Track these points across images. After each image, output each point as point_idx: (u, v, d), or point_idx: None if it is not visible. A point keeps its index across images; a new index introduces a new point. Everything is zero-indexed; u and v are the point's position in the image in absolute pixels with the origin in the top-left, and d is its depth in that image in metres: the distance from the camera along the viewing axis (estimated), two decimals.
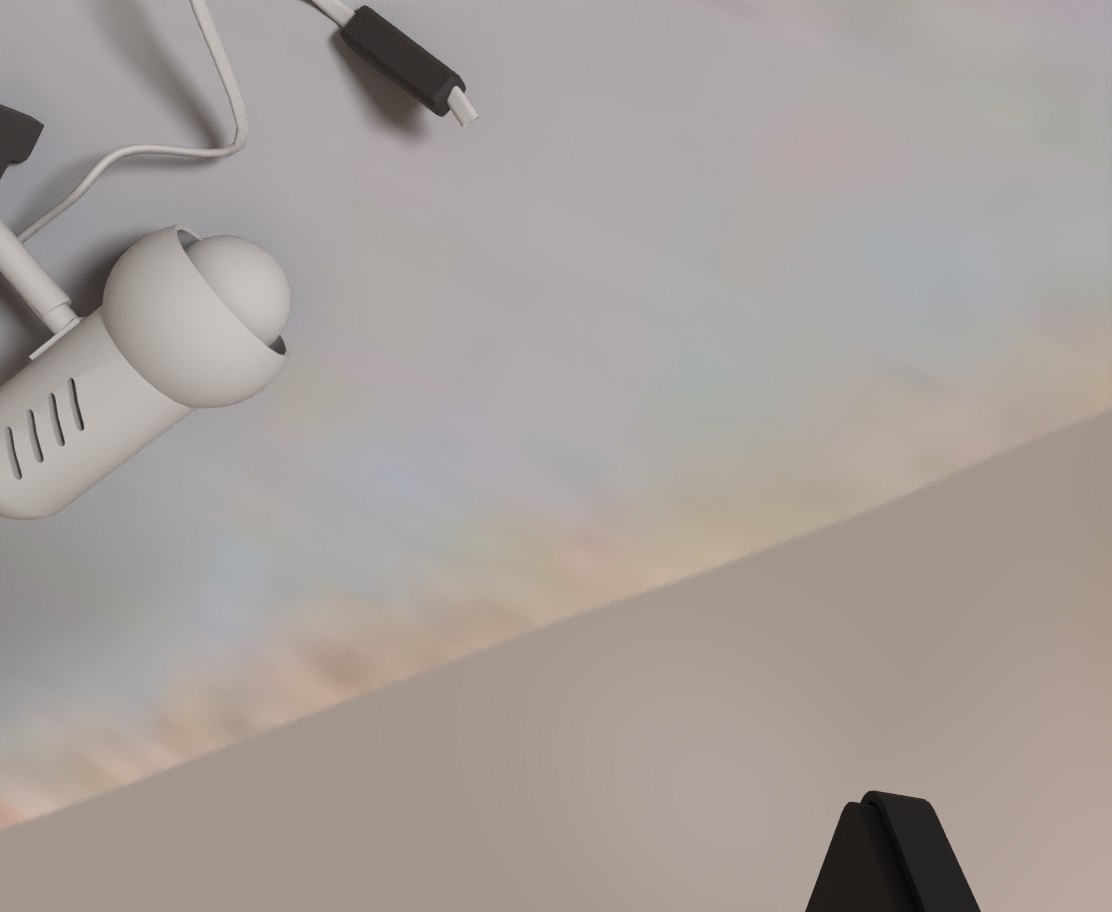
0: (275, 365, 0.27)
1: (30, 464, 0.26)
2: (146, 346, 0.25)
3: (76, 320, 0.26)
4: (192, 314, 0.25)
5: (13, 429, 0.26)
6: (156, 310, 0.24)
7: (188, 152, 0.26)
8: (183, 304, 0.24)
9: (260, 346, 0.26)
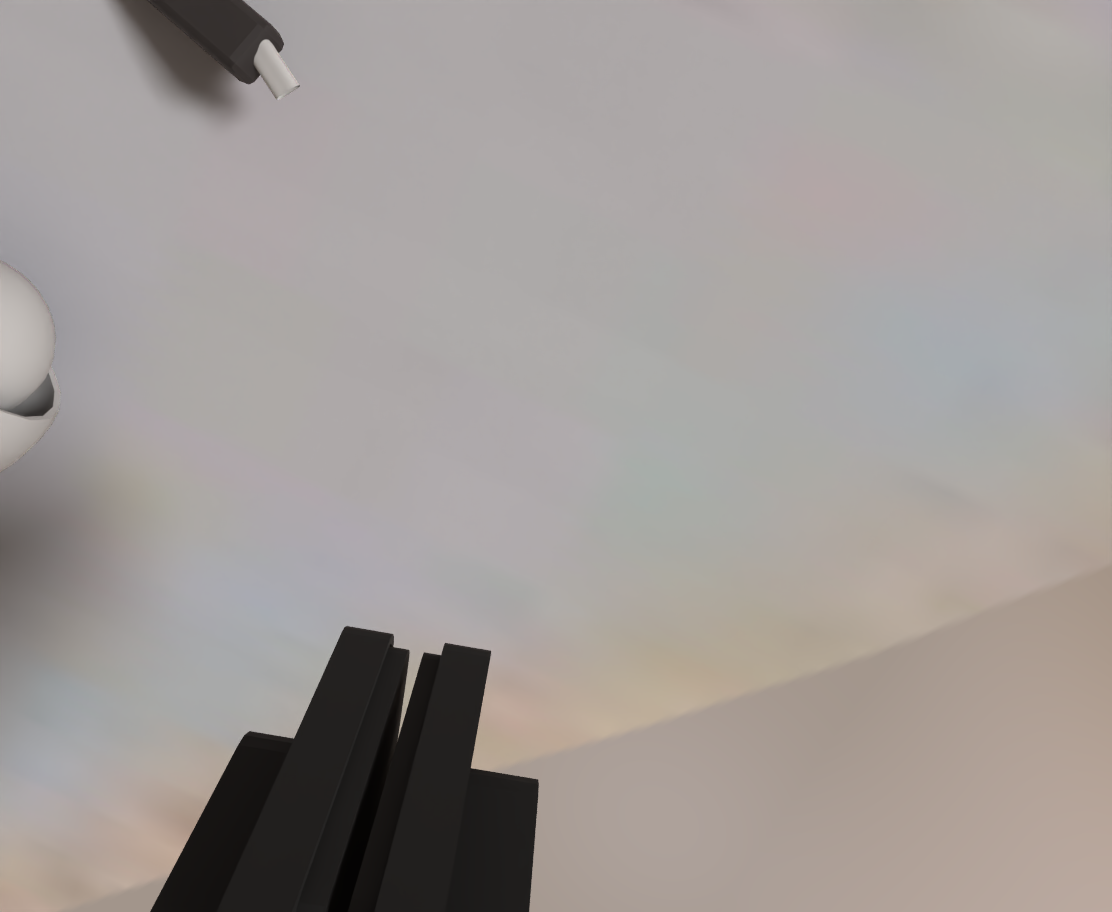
0: (22, 433, 0.19)
1: None
2: None
3: None
4: None
5: None
6: None
7: None
8: None
9: None
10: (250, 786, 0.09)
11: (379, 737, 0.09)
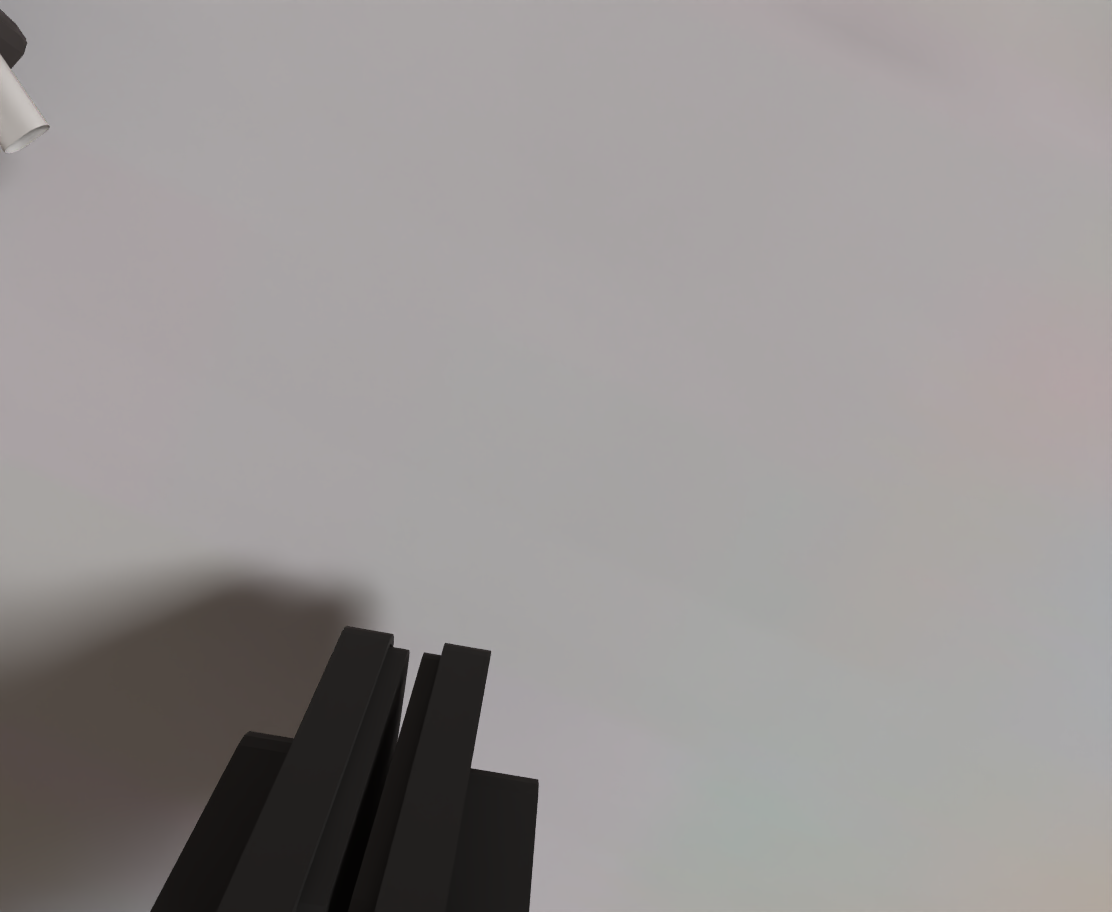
0: None
1: None
2: None
3: None
4: None
5: None
6: None
7: None
8: None
9: None
10: (250, 786, 0.09)
11: (379, 737, 0.09)
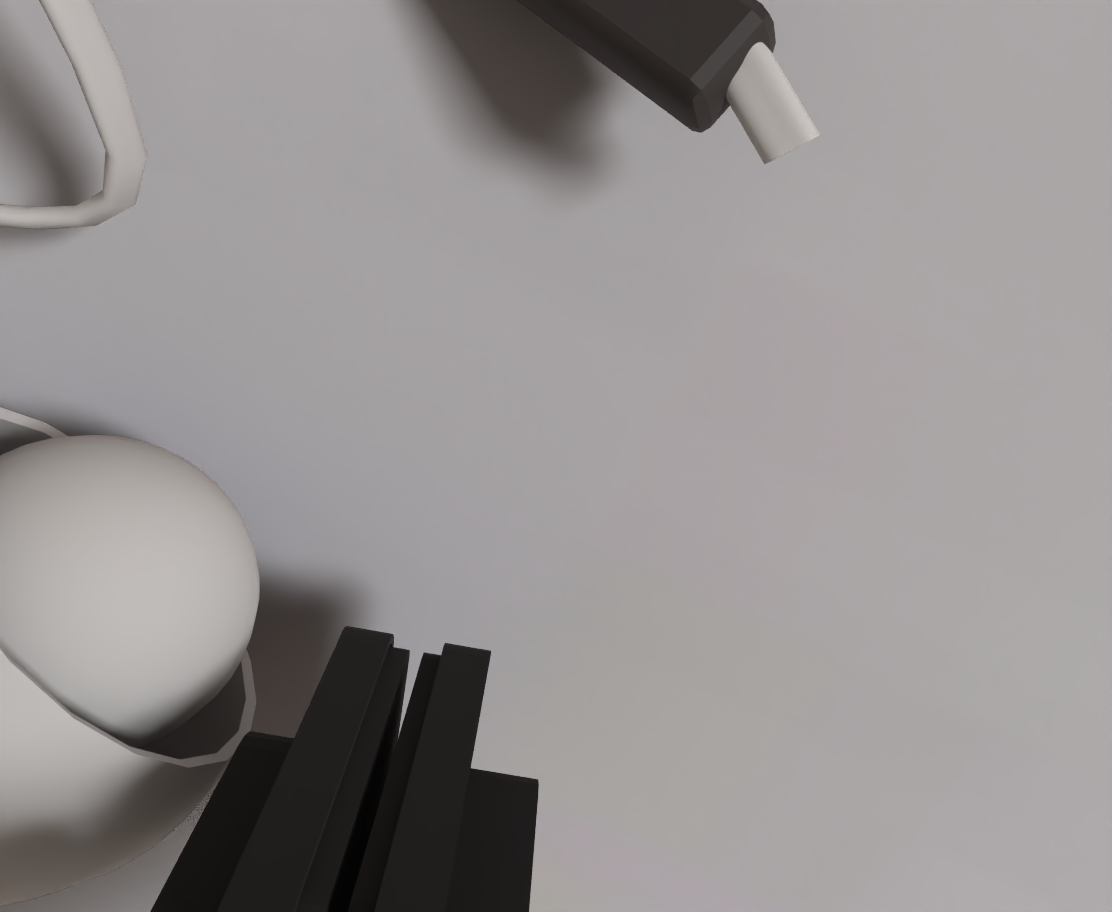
0: (211, 785, 0.10)
1: None
2: None
3: None
4: None
5: None
6: None
7: None
8: None
9: (163, 774, 0.09)
10: (250, 786, 0.09)
11: (379, 737, 0.09)
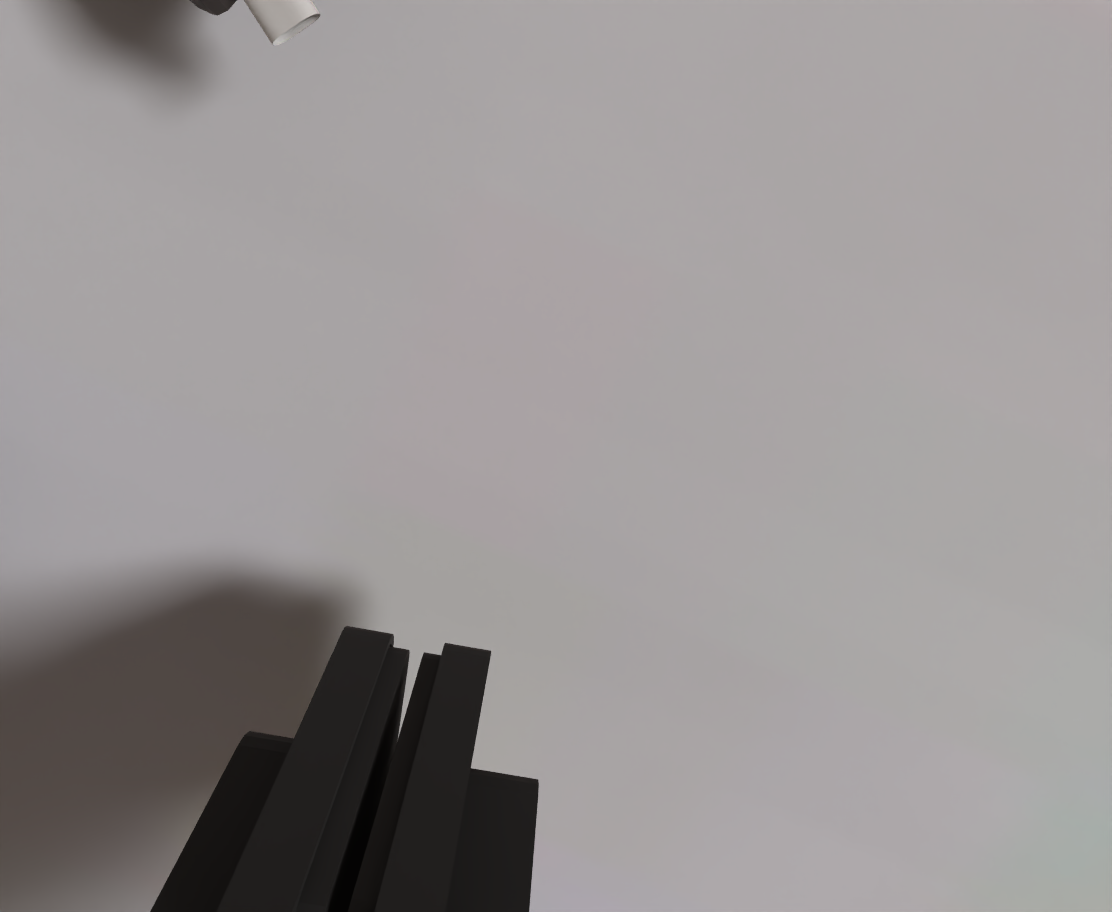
0: None
1: None
2: None
3: None
4: None
5: None
6: None
7: None
8: None
9: None
10: (250, 786, 0.09)
11: (379, 737, 0.09)
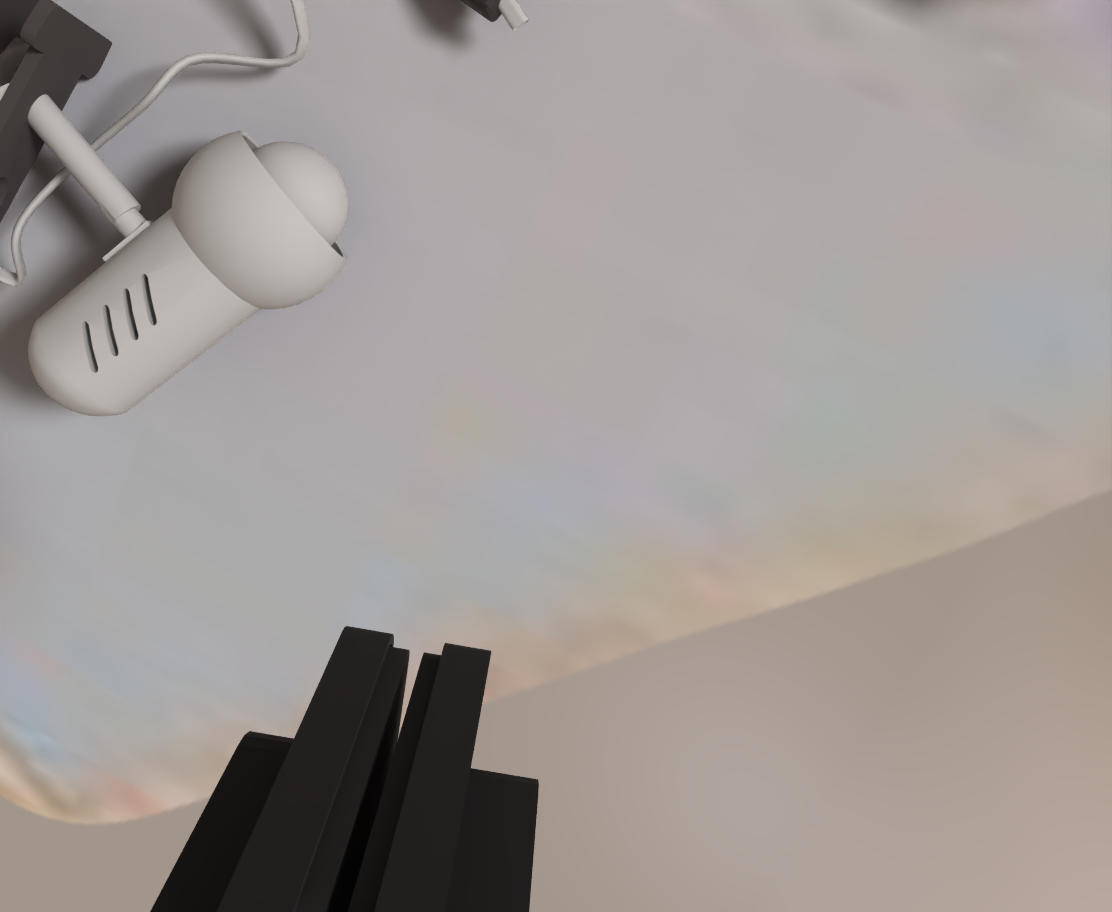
0: (335, 265, 0.28)
1: (106, 357, 0.27)
2: (216, 240, 0.26)
3: (146, 223, 0.28)
4: (260, 208, 0.26)
5: (90, 324, 0.27)
6: (227, 205, 0.26)
7: (251, 61, 0.27)
8: (252, 199, 0.26)
9: (322, 243, 0.27)
10: (250, 786, 0.09)
11: (379, 737, 0.09)
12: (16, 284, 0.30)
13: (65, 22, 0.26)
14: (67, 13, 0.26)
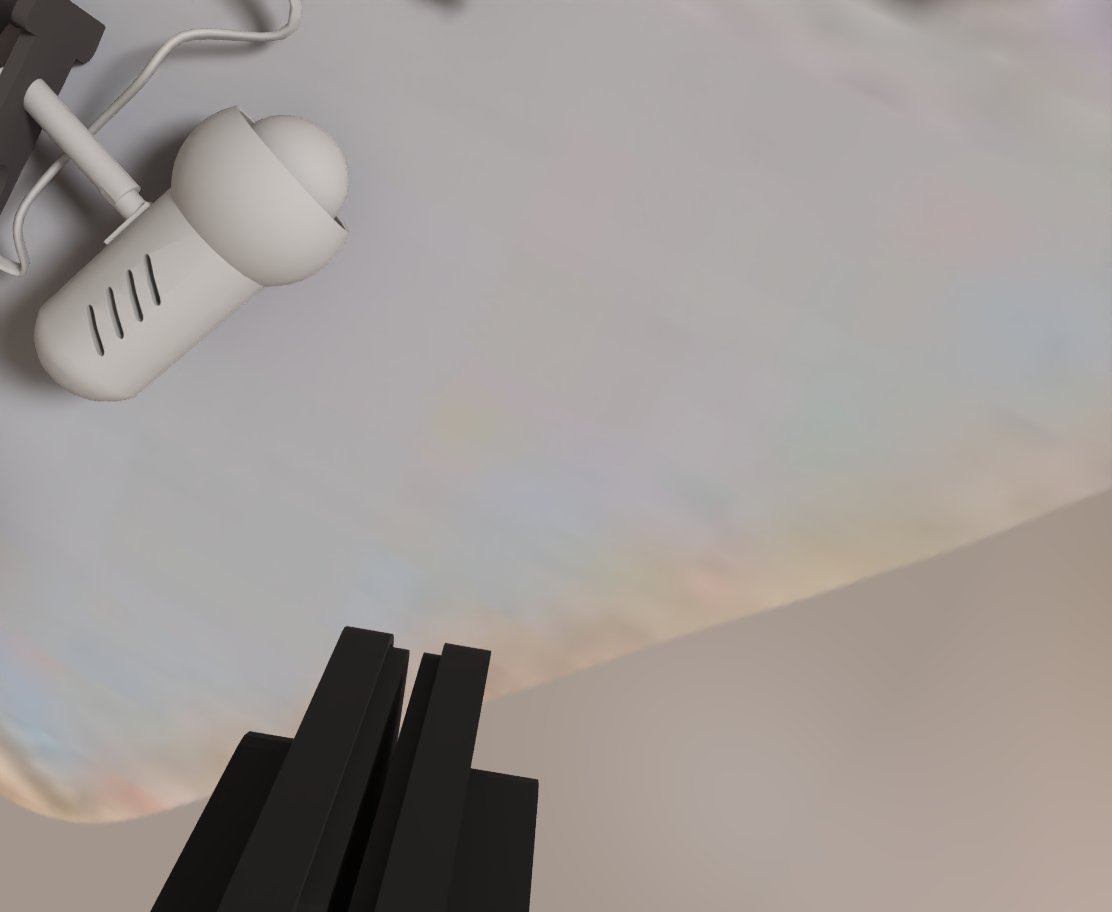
0: (337, 237, 0.28)
1: (111, 340, 0.27)
2: (217, 216, 0.26)
3: (147, 203, 0.27)
4: (259, 181, 0.26)
5: (94, 307, 0.27)
6: (226, 179, 0.26)
7: (245, 35, 0.27)
8: (250, 172, 0.26)
9: (323, 215, 0.27)
10: (250, 786, 0.09)
11: (379, 737, 0.09)
12: (20, 274, 0.30)
13: (56, 3, 0.26)
14: None
